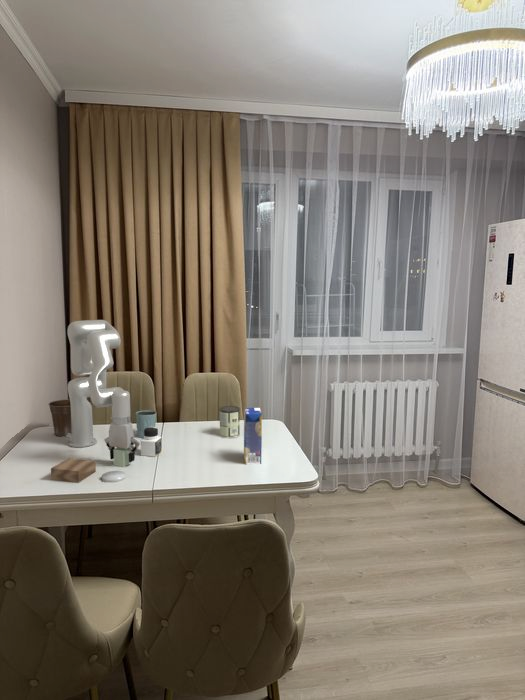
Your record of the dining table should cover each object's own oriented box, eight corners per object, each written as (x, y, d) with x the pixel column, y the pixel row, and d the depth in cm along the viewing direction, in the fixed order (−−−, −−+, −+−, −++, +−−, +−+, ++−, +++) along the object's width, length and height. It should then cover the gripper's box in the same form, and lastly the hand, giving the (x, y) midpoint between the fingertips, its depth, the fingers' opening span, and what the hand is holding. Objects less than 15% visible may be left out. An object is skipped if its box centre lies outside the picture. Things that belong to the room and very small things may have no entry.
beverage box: (258, 455, 231) (259, 407, 228) (261, 464, 220) (261, 414, 217) (243, 455, 230) (244, 407, 227) (245, 464, 219) (245, 414, 216)
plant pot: (47, 431, 263) (46, 400, 261) (80, 427, 271) (79, 397, 269) (52, 440, 249) (51, 407, 247) (87, 435, 257) (86, 404, 255)
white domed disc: (97, 481, 200) (96, 477, 200) (111, 473, 208) (111, 469, 208) (116, 484, 197) (116, 480, 197) (130, 476, 205) (130, 472, 205)
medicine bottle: (155, 457, 227) (155, 430, 225) (140, 455, 228) (140, 429, 227) (161, 451, 234) (161, 426, 232) (147, 450, 235) (146, 425, 234)
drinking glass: (132, 435, 257) (131, 412, 255) (148, 431, 265) (148, 409, 263) (144, 440, 250) (143, 416, 249) (160, 435, 258) (160, 412, 256)
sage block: (113, 465, 216) (113, 449, 215) (121, 461, 221) (120, 445, 220) (123, 467, 214) (123, 450, 214) (130, 463, 219) (130, 447, 218)
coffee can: (227, 431, 267) (227, 404, 265) (243, 434, 262) (243, 407, 260) (215, 436, 258) (215, 408, 256) (232, 439, 253) (232, 411, 251)
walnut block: (51, 480, 200) (50, 468, 199) (69, 469, 212) (69, 458, 211) (78, 483, 197) (78, 471, 197) (95, 472, 209) (95, 460, 208)
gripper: (98, 420, 215) (99, 460, 217) (133, 424, 209) (134, 465, 211) (109, 416, 222) (110, 454, 224) (144, 420, 216) (144, 459, 218)
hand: (122, 459), depth 217 cm, fingers open, 8 cm apart
